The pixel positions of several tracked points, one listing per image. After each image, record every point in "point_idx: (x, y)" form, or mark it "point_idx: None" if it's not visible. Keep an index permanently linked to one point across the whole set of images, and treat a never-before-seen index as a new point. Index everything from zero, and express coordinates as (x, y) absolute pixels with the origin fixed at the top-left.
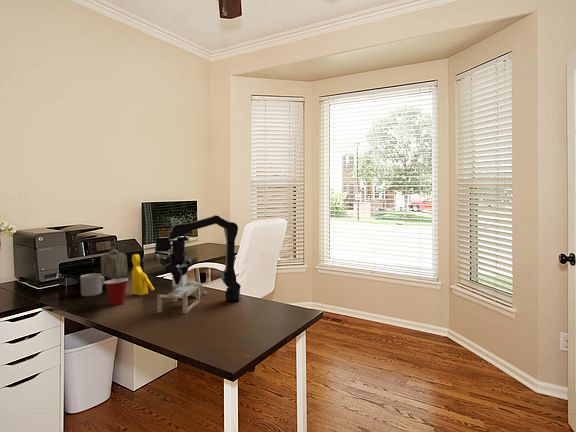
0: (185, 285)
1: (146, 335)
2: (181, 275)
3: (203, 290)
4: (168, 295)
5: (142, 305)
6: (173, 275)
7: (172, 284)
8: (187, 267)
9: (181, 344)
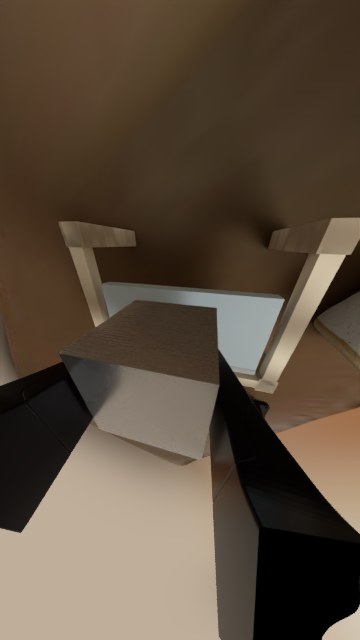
0: (306, 326)
1: (5, 283)
2: (119, 427)
3: (350, 361)
4: (85, 293)
5: (220, 8)
6: (16, 389)
7: (126, 307)
8: (219, 632)
9: (25, 347)
